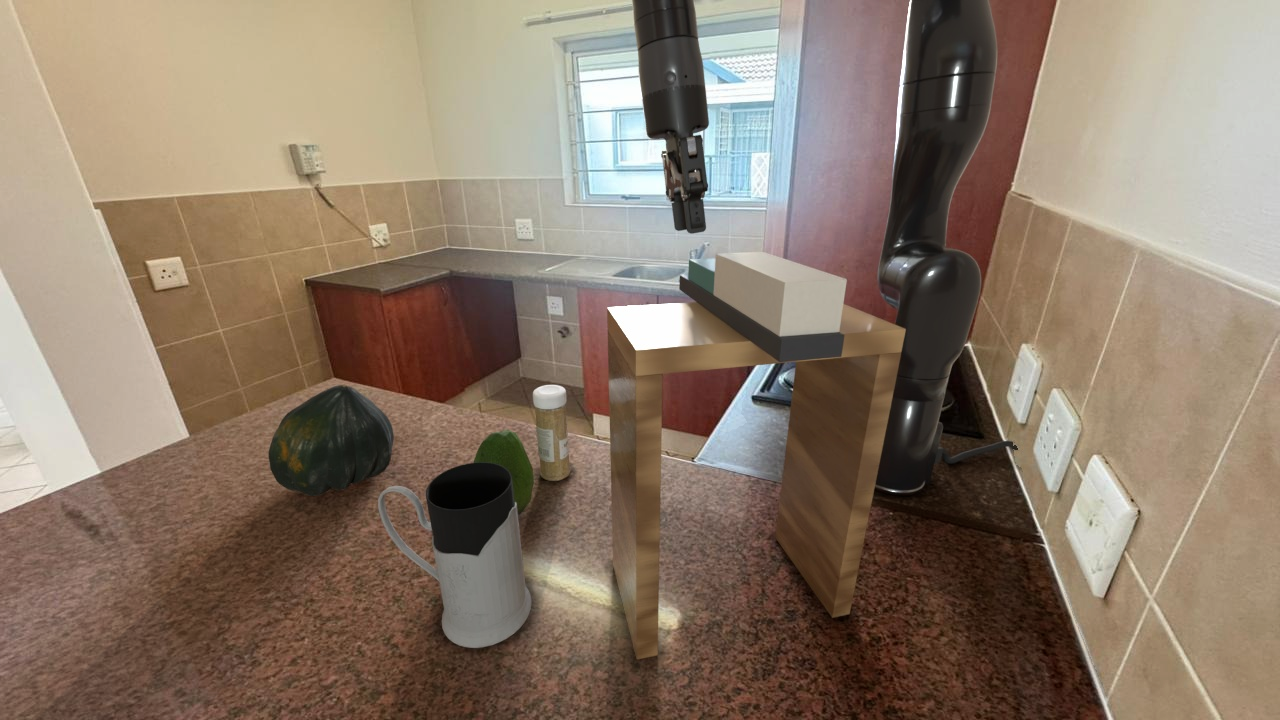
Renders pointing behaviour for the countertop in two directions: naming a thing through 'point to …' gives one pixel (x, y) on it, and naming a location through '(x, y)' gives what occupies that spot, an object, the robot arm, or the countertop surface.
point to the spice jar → (552, 431)
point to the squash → (331, 442)
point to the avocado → (509, 463)
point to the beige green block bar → (771, 302)
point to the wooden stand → (814, 458)
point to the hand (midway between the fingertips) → (689, 231)
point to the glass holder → (472, 551)
